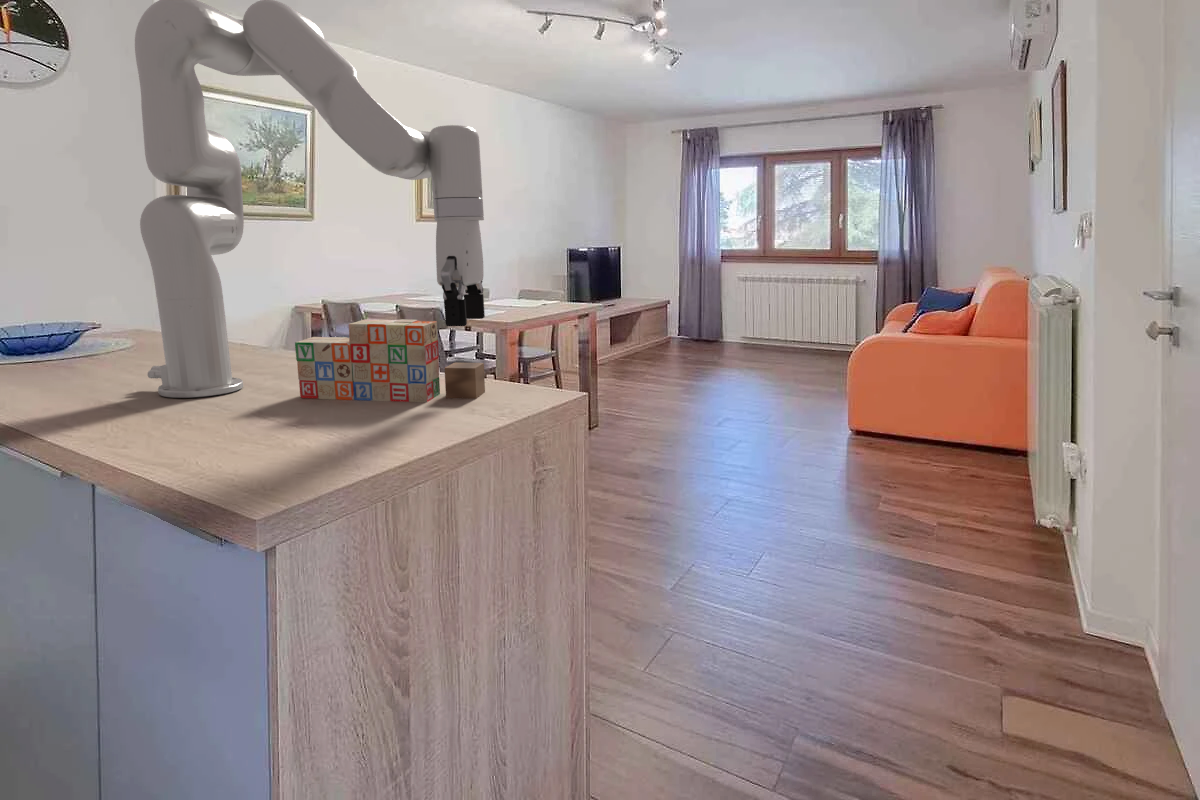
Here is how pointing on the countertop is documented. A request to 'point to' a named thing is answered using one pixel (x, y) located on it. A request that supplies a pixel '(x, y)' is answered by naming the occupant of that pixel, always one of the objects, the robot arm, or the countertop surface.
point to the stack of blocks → (372, 362)
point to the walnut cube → (464, 380)
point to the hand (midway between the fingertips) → (466, 322)
